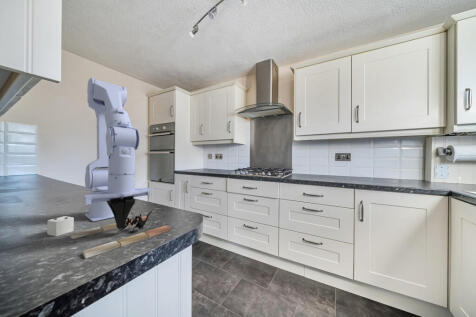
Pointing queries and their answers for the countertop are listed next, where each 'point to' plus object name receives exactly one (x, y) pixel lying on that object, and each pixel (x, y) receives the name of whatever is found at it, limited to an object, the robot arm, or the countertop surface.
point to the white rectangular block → (60, 226)
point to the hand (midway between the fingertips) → (120, 227)
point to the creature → (139, 224)
